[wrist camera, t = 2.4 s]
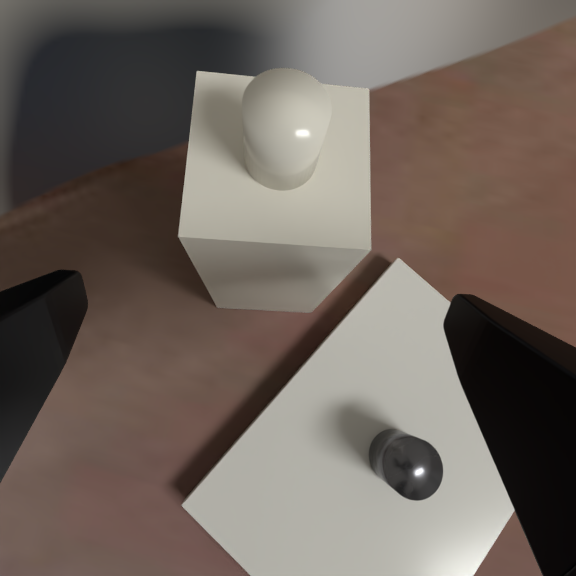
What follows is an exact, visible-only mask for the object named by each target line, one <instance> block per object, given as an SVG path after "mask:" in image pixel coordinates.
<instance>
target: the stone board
mask: <svg viewBox="0 0 576 576" xmlns="http://www.w3.org/2000/svg"><path fill="white" fill-rule="evenodd" d="M449 306H450V302H449V301H448V300H447V299H445V298H444V297H443V296H442V295H441V294H440V293H438V292H437V291H436V290H435V289H434V288H433V287H432V286H430V285H429V284H428V283H427V282H426V281H425V280H424V279H422V278H421V277H420V276H419V275H418V274H417V273H416V272H414V271H413V270H412V269H411V268H410V267H409V266H407V265H406V264H405V263H404V262H403V261H402V260H401V259H399V258H397V259H396V260H395V261H393V262H392V263H391V264H390V265H389V266H388V268H387V269H386V270H385V271H384V272H383V273H382V274H381V276H380V277H379V278H378V279H377V280H376V281H375V282H374V284H373V285H372V286H371V287H370V288H369V289H368V290H367V292H366V293H365V294H364V295H363V296H362V297H361V298H360V300H359V301H358V302H357V303H356V304H355V305H354V306H353V308H352V309H351V310H350V311H349V312H348V313H347V314H346V316H345V317H344V318H343V319H342V320H341V321H340V322H339V324H338V325H337V326H336V327H335V328H334V329H333V330H332V332H331V333H330V334H329V335H328V336H327V337H326V338H325V339H324V341H323V342H322V343H321V344H320V345H319V346H318V347H317V349H316V350H315V351H314V352H313V353H312V354H311V355H310V357H309V358H308V359H307V360H306V361H305V362H304V363H303V365H302V366H301V367H300V368H299V369H298V370H297V371H296V373H295V374H294V375H293V376H292V377H291V378H290V379H289V381H288V382H287V383H286V384H285V385H284V386H283V387H282V389H281V390H280V391H279V392H278V393H277V394H276V395H275V397H274V398H273V399H272V400H271V401H270V402H269V403H268V404H267V406H266V407H265V408H264V409H263V410H262V411H261V412H260V414H259V415H258V416H257V417H256V418H255V419H254V420H253V422H252V423H251V424H250V425H249V426H248V427H247V428H246V430H245V431H244V432H243V433H242V434H241V435H240V436H239V438H238V439H237V440H236V441H235V442H234V443H233V444H232V446H231V447H230V448H229V449H228V450H227V451H226V452H225V454H224V455H223V456H222V457H221V458H220V459H219V460H218V462H217V463H216V464H215V465H214V466H213V467H212V468H211V470H210V471H209V472H208V473H207V474H206V475H205V476H204V477H203V479H202V480H201V481H200V482H199V483H198V484H197V485H196V487H195V488H194V489H193V490H192V491H191V492H190V493H189V495H188V496H187V497H186V498H185V500H184V502H183V503H182V505H181V506H182V507H183V508H184V509H185V510H186V511H187V512H188V513H189V514H190V515H191V516H192V517H193V518H194V519H195V520H196V521H197V522H198V523H199V524H200V525H201V526H202V527H203V528H204V529H205V530H206V531H207V532H208V533H209V534H210V535H211V536H212V537H213V538H214V539H215V540H216V541H217V542H218V543H219V544H220V545H221V546H222V547H223V548H224V549H225V550H226V551H227V552H228V553H229V554H230V555H231V556H232V557H233V558H234V559H235V560H236V561H237V562H238V563H239V564H240V565H241V566H242V567H243V568H244V569H245V570H246V571H247V572H248V573H249V574H250V576H473V575H474V574H475V572H476V570H477V569H478V567H479V566H480V564H481V562H482V561H483V559H484V558H485V556H486V555H487V553H488V551H489V550H490V548H491V547H492V545H493V543H494V542H495V540H496V539H497V537H498V536H499V534H500V532H501V531H502V529H503V528H504V526H505V525H506V523H507V521H508V520H509V518H510V517H511V515H512V513H513V512H514V508H513V505H512V503H511V501H510V498H509V496H508V494H507V491H506V489H505V487H504V484H503V482H502V480H501V477H500V475H499V473H498V470H497V468H496V466H495V463H494V461H493V459H492V456H491V454H490V452H489V449H488V447H487V445H486V442H485V440H484V438H483V435H482V433H481V431H480V428H479V426H478V424H477V421H476V419H475V417H474V414H473V412H472V410H471V407H470V405H469V403H468V400H467V398H466V396H465V393H464V391H463V389H462V386H461V384H460V381H459V378H458V375H457V372H456V369H455V366H454V362H453V359H452V356H451V352H450V349H449V346H448V342H447V339H446V336H445V332H444V328H443V323H444V319H445V316H446V314H447V311H448V309H449ZM388 429H396V430H400V431H402V432H405V433H407V434H410V435H412V436H415V437H418V438H420V439H423V440H425V441H427V442H428V443H430V444H431V445H432V446H433V447H434V448H435V449H436V450H437V452H438V453H439V455H440V458H441V460H442V464H443V478H442V482H441V484H440V486H439V488H438V490H437V491H436V492H435V493H434V494H433V495H432V496H430V497H429V498H427V499H424V500H420V501H414V500H409V499H406V498H404V497H403V496H401V495H400V494H399V493H397V492H396V491H395V490H394V489H393V488H391V487H390V486H389V485H388V484H387V483H385V482H384V481H383V480H382V479H381V478H379V477H378V476H377V475H376V474H375V472H374V471H373V469H372V467H371V465H370V462H369V448H370V445H371V442H372V440H373V439H374V438H375V436H376V435H378V434H379V433H380V432H382V431H384V430H388Z"/></svg>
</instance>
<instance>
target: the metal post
mask: <svg viewBox="0 0 576 576" xmlns="http://www.w3.org/2000/svg"><path fill="white" fill-rule="evenodd" d="M369 462H370V465H371V467H372V469H373V471H374V472H375V474H376V475H377V476H378V477H379V478H381V479H382V480H383V481H384V482H385V483H387V484H388V485H389V486H390V487H391V488H393V489H394V490H395V491H396V492H397V493H399V494H400V495H401V496H403V497H404V498H406V499H409V500H414V501H420V500H424V499H427V498H429V497H430V496H432V495H433V494H434V493H435V492H436V491H437V490H438V488H439V486H440V484H441V482H442V478H443V464H442V460H441V458H440V455H439V453H438V452H437V450H436V449H435V448H434V447H433V446H432V445H431V444H430V443H428V442H427V441H425V440H423V439H420V438H418V437H415V436H412V435H410V434H407V433H405V432H402V431H400V430H396V429H388V430H384V431H382V432H380V433H379V434H378V435H376V436H375V438H374V439H373V440H372V442H371V445H370V448H369Z"/></svg>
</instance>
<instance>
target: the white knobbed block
mask: <svg viewBox="0 0 576 576" xmlns="http://www.w3.org/2000/svg"><path fill="white" fill-rule="evenodd" d="M178 238H179V239H180V241H181V243H182V245H183V247H184V248H185V250H186V252H187V254H188V256H189V257H190V259H191V261H192V263H193V265H194V266H195V268H196V270H197V272H198V274H199V275H200V277H201V279H202V281H203V283H204V284H205V286H206V288H207V290H208V292H209V294H210V295H211V297H212V299H213V301H214V303H215V304H216V306H217V308H231V309H250V310H268V311H287V312H305V313H311V312H312V311H313V310H314V309H315V308H316V307H317V306H318V305H319V304H320V303H321V302H322V301H323V300H324V299H325V298H326V297H327V296H328V295H329V294H330V292H331V291H332V290H333V289H334V288H335V287H336V286H337V285H338V284H339V283H340V282H341V281H342V280H343V279H344V278H345V277H346V276H347V275H348V274H349V273H350V272H351V271H352V269H353V268H354V267H355V266H356V265H357V264H358V263H359V262H360V261H361V260H362V259H363V258H364V257H365V256H366V255H367V254H368V253H369V252H370V251H371V201H370V118H369V89H366V88H357V87H347V86H336V85H327V84H321V83H320V82H319V81H317V80H316V79H315V78H314V77H312V76H311V75H309V74H307V73H305V72H303V71H300V70H296V69H290V68H276V69H271V70H268V71H265V72H263V73H261V74H259V75H258V76H256V77H251V76H241V75H232V74H222V73H211V72H203V71H197V75H196V84H195V93H194V101H193V110H192V118H191V127H190V136H189V145H188V154H187V162H186V171H185V180H184V189H183V198H182V206H181V215H180V224H179V233H178Z"/></svg>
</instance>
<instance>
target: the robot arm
mask: <svg viewBox="0 0 576 576" xmlns="http://www.w3.org/2000/svg"><path fill="white" fill-rule="evenodd" d="M87 308H88V300H87V296H86V291H85V287H84V283H83V279H82V276H81V274H80V273H79V272H78V271H75V270H57V271H54V272H52V273H49V274H46V275H44V276H41V277H38V278H36V279H33V280H30V281H28V282H25V283H22V284H20V285H17V286H14V287H12V288H9V289H6V290H4V291H1V292H0V482H1V481H2V479H3V477H4V475H5V473H6V471H7V470H8V468H9V466H10V464H11V462H12V461H13V459H14V457H15V455H16V453H17V451H18V450H19V448H20V446H21V444H22V442H23V441H24V439H25V437H26V435H27V433H28V431H29V430H30V428H31V426H32V424H33V422H34V420H35V419H36V417H37V415H38V413H39V411H40V410H41V408H42V406H43V404H44V402H45V400H46V399H47V397H48V395H49V393H50V391H51V390H52V388H53V386H54V384H55V382H56V380H57V379H58V377H59V375H60V373H61V371H62V369H63V367H64V365H65V363H66V361H67V359H68V356H69V354H70V352H71V349H72V347H73V344H74V342H75V339H76V337H77V334H78V332H79V329H80V327H81V324H82V322H83V319H84V317H85V314H86V311H87ZM443 328H444V332H445V336H446V339H447V342H448V346H449V349H450V352H451V356H452V359H453V362H454V366H455V369H456V372H457V375H458V378H459V381H460V384H461V386H462V389H463V391H464V393H465V396H466V398H467V400H468V403H469V405H470V407H471V410H472V412H473V414H474V417H475V419H476V421H477V424H478V426H479V428H480V431H481V433H482V435H483V438H484V440H485V442H486V445H487V447H488V449H489V452H490V454H491V456H492V459H493V461H494V463H495V466H496V468H497V470H498V473H499V475H500V477H501V480H502V482H503V484H504V487H505V489H506V491H507V494H508V496H509V498H510V501H511V503H512V505H513V508H514V510H515V512H516V515H517V517H518V519H519V522H520V524H521V526H522V529H523V531H524V533H525V536H526V538H527V540H528V543H529V545H530V547H531V550H532V552H533V554H534V557H535V559H536V561H537V564H538V566H539V568H540V571H541V573H542V575H543V576H576V347H574V346H572V345H570V344H568V343H566V342H564V341H562V340H560V339H558V338H556V337H554V336H552V335H550V334H548V333H547V332H545V331H543V330H541V329H539V328H537V327H535V326H533V325H531V324H529V323H527V322H525V321H523V320H521V319H519V318H517V317H515V316H513V315H512V314H510V313H508V312H506V311H504V310H502V309H500V308H498V307H496V306H494V305H492V304H490V303H488V302H486V301H484V300H482V299H480V298H478V297H476V296H474V295H471V294H457V295H455V296H454V297H453V299H452V301H451V303H450V306H449V309H448V311H447V314H446V316H445V319H444V323H443Z"/></svg>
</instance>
